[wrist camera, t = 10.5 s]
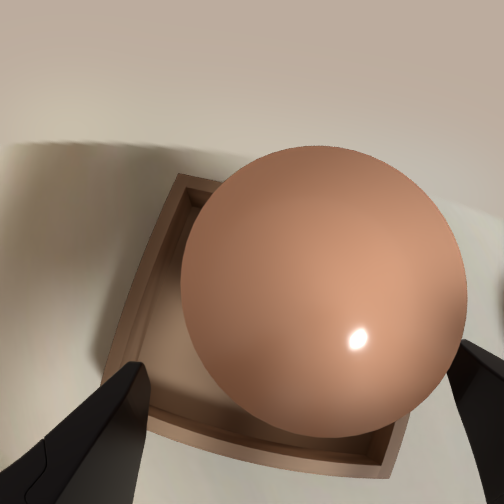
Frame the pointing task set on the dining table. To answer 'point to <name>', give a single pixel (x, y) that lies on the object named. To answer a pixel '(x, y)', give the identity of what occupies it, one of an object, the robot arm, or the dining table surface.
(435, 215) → the terracotta cylinder
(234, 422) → the box
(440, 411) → the dining table surface
